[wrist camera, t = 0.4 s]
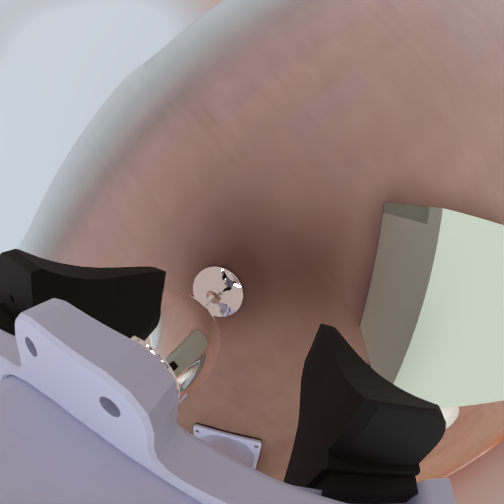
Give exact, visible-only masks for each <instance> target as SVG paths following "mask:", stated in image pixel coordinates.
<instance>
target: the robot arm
mask: <svg viewBox="0 0 504 504" xmlns="http://www.w3.org/2000/svg"><path fill="white" fill-rule="evenodd" d="M165 275H166V271H163V270H160V269H158V268H155V267H121V268H92V267H80V266H74V265H68V264H62V263H57V262H53V261H49V260H46V259H42V258H39V257H36V256H34V255H31V254H29V253H26V252H24V251H21V250H18V249H13V250H10V251H6V252H3V253H1V254H0V504H456V501H455V497H454V493H453V490H452V486H451V482H450V479H449V478H438V479H427V480H422V481H420V482H418V483H416V478H415V475H418V474H419V473H420V467H419V463H420V462H421V461H422V460H423V459H424V458H425V457H426V456H427V455H428V454H429V453H430V452H431V451H432V449H433V448H434V447H435V446H436V445H437V444H438V442H439V441H440V440H441V438H442V437H443V435H444V432H445V430H446V421H445V419H444V416H443V414H442V411H441V409H440V407H439V405H437V404H434V403H432V402H429V401H426V400H424V399H421V398H418V397H416V396H414V395H412V394H410V393H408V392H406V391H404V390H402V389H400V388H399V387H397V386H395V385H394V384H392V383H391V382H389V381H388V380H386V379H385V378H383V377H382V376H381V375H379V374H378V373H377V372H376V371H375V370H373V369H372V368H371V367H370V366H369V365H368V364H367V363H366V362H365V361H364V360H363V359H362V358H361V357H360V356H359V355H358V354H357V353H356V352H355V351H354V350H353V349H352V347H351V346H350V345H349V344H348V343H347V341H346V340H345V339H344V338H343V336H342V335H341V334H340V333H339V332H338V330H337V329H336V328H335V327H332V326H328V325H325V324H320V327H319V329H318V332H317V334H316V336H315V339H314V341H313V344H312V346H311V348H310V351H309V353H308V355H307V358H306V360H305V363H304V368H303V373H302V378H301V394H300V411H299V422H298V428H297V433H296V437H295V442H294V446H293V450H292V454H291V458H290V461H289V465H288V468H287V472H286V475H285V478H284V482H282V481H280V480H278V479H275V478H273V477H271V476H268V475H266V474H264V473H262V472H260V471H258V470H255V469H256V465H257V461H258V457H259V453H260V449H261V445H262V442H261V441H260V440H257V439H252V438H247V437H243V436H239V435H235V434H231V433H227V432H223V431H219V430H215V429H212V428H208V427H205V426H202V425H199V424H195V425H194V427H193V430H194V435H193V434H191V433H190V432H188V431H187V430H185V429H184V428H182V427H181V426H180V425H179V424H178V423H177V410H178V402H179V397H178V392H177V386H176V381H175V379H174V378H173V376H172V375H171V373H170V372H169V371H168V369H167V368H166V366H165V365H164V364H163V362H162V361H161V359H160V358H159V357H157V356H156V355H154V354H153V353H152V352H150V351H149V350H148V349H146V348H145V347H144V346H142V345H141V344H140V343H138V342H136V341H134V340H132V339H130V338H132V337H133V336H134V335H135V334H137V333H138V332H139V331H140V330H141V329H142V328H143V327H144V326H145V325H146V324H147V323H148V322H150V320H151V319H152V318H153V317H154V316H155V315H156V314H157V313H158V312H159V311H160V310H161V303H162V296H163V288H164V282H165Z"/></svg>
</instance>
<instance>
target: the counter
mask: <svg viewBox="0 0 504 504" xmlns="http://www.w3.org/2000/svg"><path fill="white" fill-rule="evenodd" d="M360 330H361V333H362V337H363V340H364V343H365V347H366V350H367V354H368V357H369V361H370V365H371V368H372V369H373V370H375V371H376V372H377V373H378V374H379V375H381V376H382V377H383V378H385V379H386V380H388V381H389V382H391V383H392V384H394V385H395V386H397V387H399V388H400V389H402V390H404V391H406V392H408V393H410V394H412V395H414V396H416V397H418V398H421V399H424V400H426V401H429V402H432V403H434V404H437V405H439V407H440V408H447V407H458V406H468V405H476V404H483V403H490V402H496V401H501V400H504V225H501V224H498V223H494V222H491V221H488V220H485V219H481V218H478V217H474V216H471V215H467V214H463V213H460V212H456V211H452V210H448V209H444V208H437V207H428V206H419V205H409V204H398V203H386V202H385V203H384V211H383V218H382V225H381V231H380V237H379V243H378V249H377V254H376V259H375V264H374V269H373V274H372V279H371V283H370V288H369V292H368V296H367V300H366V304H365V308H364V312H363V316H362V320H361V323H360Z"/></svg>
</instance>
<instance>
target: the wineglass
mask: <svg viewBox="0 0 504 504" xmlns="http://www.w3.org/2000/svg"><path fill="white" fill-rule="evenodd" d="M193 295H194V297H192V296H190V295H188V294H185V293H182V292H178V291H163V296H162V303H161V310H160V311H159V312H158V313H157V314H156V315H155V316H154V317H153V318H152V319H151V320H150V322H148V323H147V324H146V325H145V326H144V327H143V328H142V329H141V330H140V331H139V332H138V333H137V334H135V335H134V336H133V337H132V338H130V339H132V340H134V341H136V342H138V343H140V344H141V345H142V346H144V347H145V348H146V349H148V350H149V351H150V352H152V353H153V354H154V355H156V356H157V357H159V358H160V359H161V361H162V362H163V364H164V365H165V366H166V368H167V369H168V371H169V372H170V373H171V375H172V376H173V378H174V379H175V381H176V386H177V392H178V397H179V402H178V404H179V403H180V402H182V401H183V400H184V399H186V398H187V397H188V396H189V395H190V394H192V393H193V392H194V391H195V390H196V389H197V388H198V387H199V386H200V385H201V384H202V383H203V382H204V381H205V379H206V378H207V377H208V375H209V374H210V373H211V371H212V370H213V368H214V366H215V364H216V362H217V358H218V355H219V352H220V345H221V339H220V332H219V328H218V325H217V323H216V320H215V319H214V317H213V316H216V317H226V316H229V315H232V314H234V313H235V312H236V311H237V310H238V309H239V308H240V306H241V305H242V302H243V297H244V292H243V287H242V285H241V282H240V281H239V279H238V278H237V277H236V276H235V275H234V274H233V273H232V272H231V271H229V270H228V269H225V268H223V267H217V266H212V267H208V268H205V269H203V270H202V271H200V272H199V273H198V275H197V276H196V278H195V280H194V283H193Z"/></svg>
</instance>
